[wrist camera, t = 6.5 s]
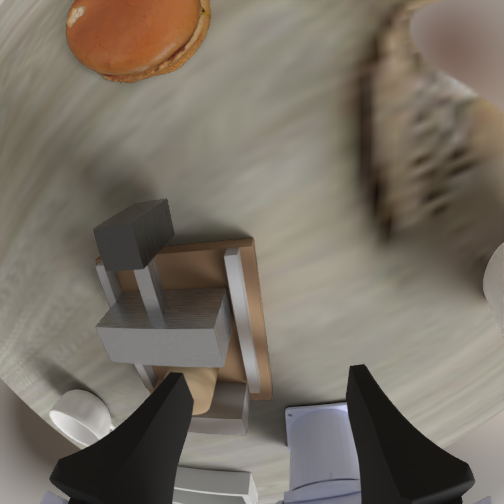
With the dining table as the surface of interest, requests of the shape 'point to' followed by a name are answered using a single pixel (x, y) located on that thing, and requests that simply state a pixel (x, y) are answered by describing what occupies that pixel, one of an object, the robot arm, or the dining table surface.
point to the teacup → (82, 416)
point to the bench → (243, 331)
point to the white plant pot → (495, 285)
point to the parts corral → (213, 487)
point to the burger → (136, 35)
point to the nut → (199, 385)
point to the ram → (158, 298)
